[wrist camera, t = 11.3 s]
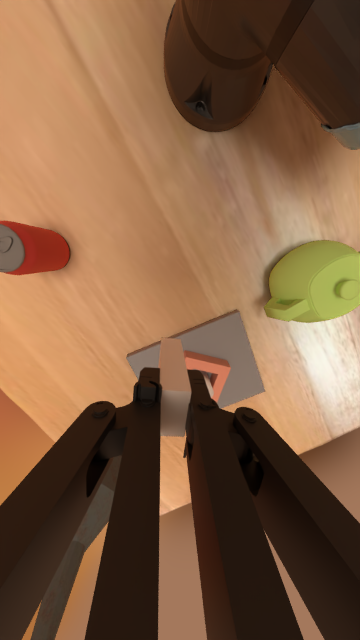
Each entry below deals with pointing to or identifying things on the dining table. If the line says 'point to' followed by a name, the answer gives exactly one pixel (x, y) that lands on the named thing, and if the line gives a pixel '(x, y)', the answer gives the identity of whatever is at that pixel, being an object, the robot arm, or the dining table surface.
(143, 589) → the robot arm
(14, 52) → the dining table surface
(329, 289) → the teapot
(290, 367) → the dining table surface
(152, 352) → the board
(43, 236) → the beer can
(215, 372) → the square nut
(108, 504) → the bottle
